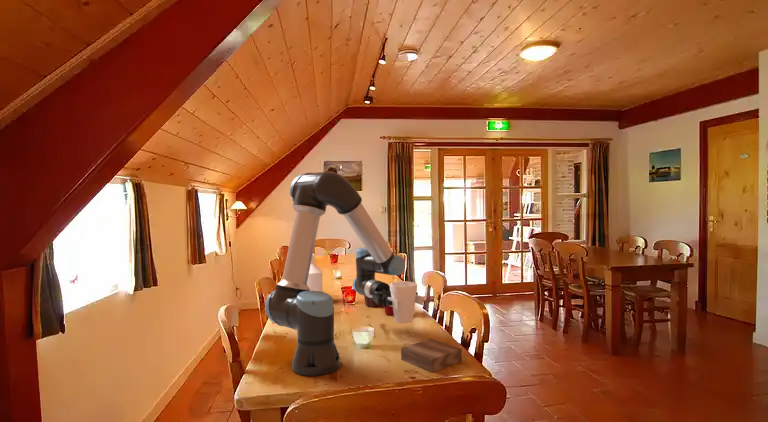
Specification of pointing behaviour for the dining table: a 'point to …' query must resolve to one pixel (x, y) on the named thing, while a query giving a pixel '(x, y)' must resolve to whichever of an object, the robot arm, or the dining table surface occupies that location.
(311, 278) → the bottle
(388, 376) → the dining table surface
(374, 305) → the muffin
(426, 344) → the walnut plinth
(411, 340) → the dining table surface
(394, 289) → the foam cup
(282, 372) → the dining table surface
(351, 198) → the robot arm
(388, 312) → the plastic cup
